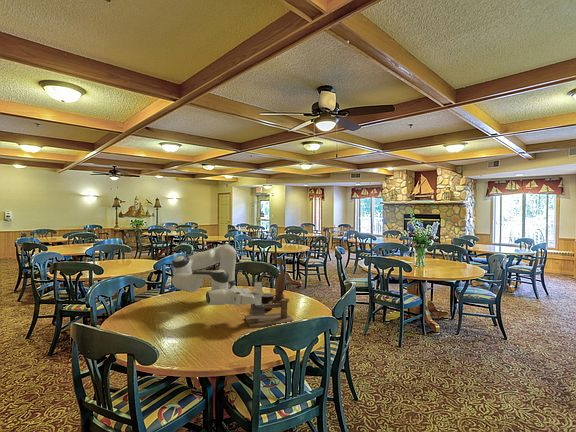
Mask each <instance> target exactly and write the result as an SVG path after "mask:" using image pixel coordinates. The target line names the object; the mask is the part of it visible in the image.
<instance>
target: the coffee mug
mask: <svg viewBox="0 0 576 432" xmlns="http://www.w3.org/2000/svg"><path fill="white" fill-rule="evenodd" d="M275 296H276V295H275V293H274V294H273V293H270V292H269V293H268V292H264V293H263V292H262V298H261V303H262V304H273V303H274V302H275V301H276V299H277V296H276V299H275V301H274V302H273V298H274V297H275ZM270 310H272V311H273V308H266V309H265V311H270ZM270 312H271V311H270Z"/></svg>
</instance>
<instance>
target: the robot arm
mask: <svg viewBox="0 0 576 432" xmlns="http://www.w3.org/2000/svg"><path fill="white" fill-rule="evenodd" d="M236 260H237V250H236V249H235V247H233V246H232V245H231V244H228V243H224V244H221V245H219V246H216V247H212V248H210V249H208V250H203V251H200V252H197V253H194V254H192V255H189V256H186V255H178V256H176V257H174V258H173V259H172V261H171V266H172V269H173V274H174V275H173V276H172V279H171V283H172V286H174V287H175V288H177V290H179V291H183V292H186V293H194V292H196V291H198V290H199V289H200V288H201V286H202V284H203V280H204V278H206V279H207V278H210V280H211V284H210V285H211V286H210V287H211V289H210V290H207V291H206V292H205V302H206V304H207V305H209V306H224V305H229V306H230V305H234V306H237V307H241V305H243V306H245V305H251V304H254V302H255V299H256V298H260V297H261V295H260V294H257V295H254V291H251V290H250V288H247V287H244V288H243V287H242V288H239V287H237V286H236V278H235V277H236V276H235V275H236V271H235V270H236V264H237V263H236V262H237V261H236ZM218 263H219V268H218V269H205V268H208V267H210V266H211V267H212V266H214V265H216V264H218Z"/></svg>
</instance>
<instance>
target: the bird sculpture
mask: <svg viewBox="0 0 576 432" xmlns="http://www.w3.org/2000/svg"><path fill="white" fill-rule="evenodd" d="M277 263H278V267H279V273H280V274H279V275H277V277H276V278H275V284H274V285H275V288H274V289H275V292H274V295H276V296H277V299H276V296H274V298H273V302H274V301H275V299H276V301H275V302H274V303H281V299H286V300H289V301H290V298H286V297H285V295H284V291H285V289H286V287H285V285H286V283H285V281H286V277H285V276H286V274H285V271H284V267H283V266H286V261H285V260H283V258H282V257H278V259H277Z"/></svg>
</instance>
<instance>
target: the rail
mask: <svg viewBox="0 0 576 432" xmlns="http://www.w3.org/2000/svg"><path fill="white" fill-rule="evenodd" d="M253 283H254V284H253V285H254V286H253V292H254V295H257V294H260V295H261V297H260V298H256V299H255V302H254V303H253V304H254V307H258V306H261V298H262V294H263V292H262V290H263V284H262V282H261V281H260V282H259V281H258V282H255V281H254V282H253Z"/></svg>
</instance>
